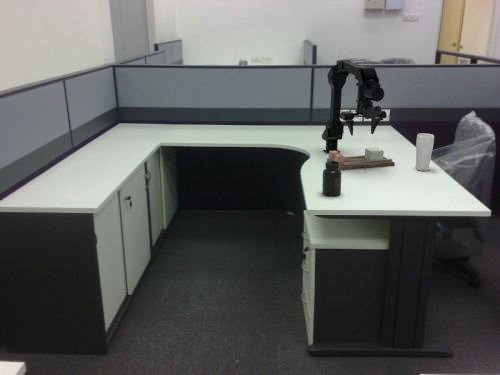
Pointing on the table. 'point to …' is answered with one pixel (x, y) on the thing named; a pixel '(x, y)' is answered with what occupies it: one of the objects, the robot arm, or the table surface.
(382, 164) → the track
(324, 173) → the supplement bottle
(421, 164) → the drinking glass
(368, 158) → the block
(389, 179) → the table surface
